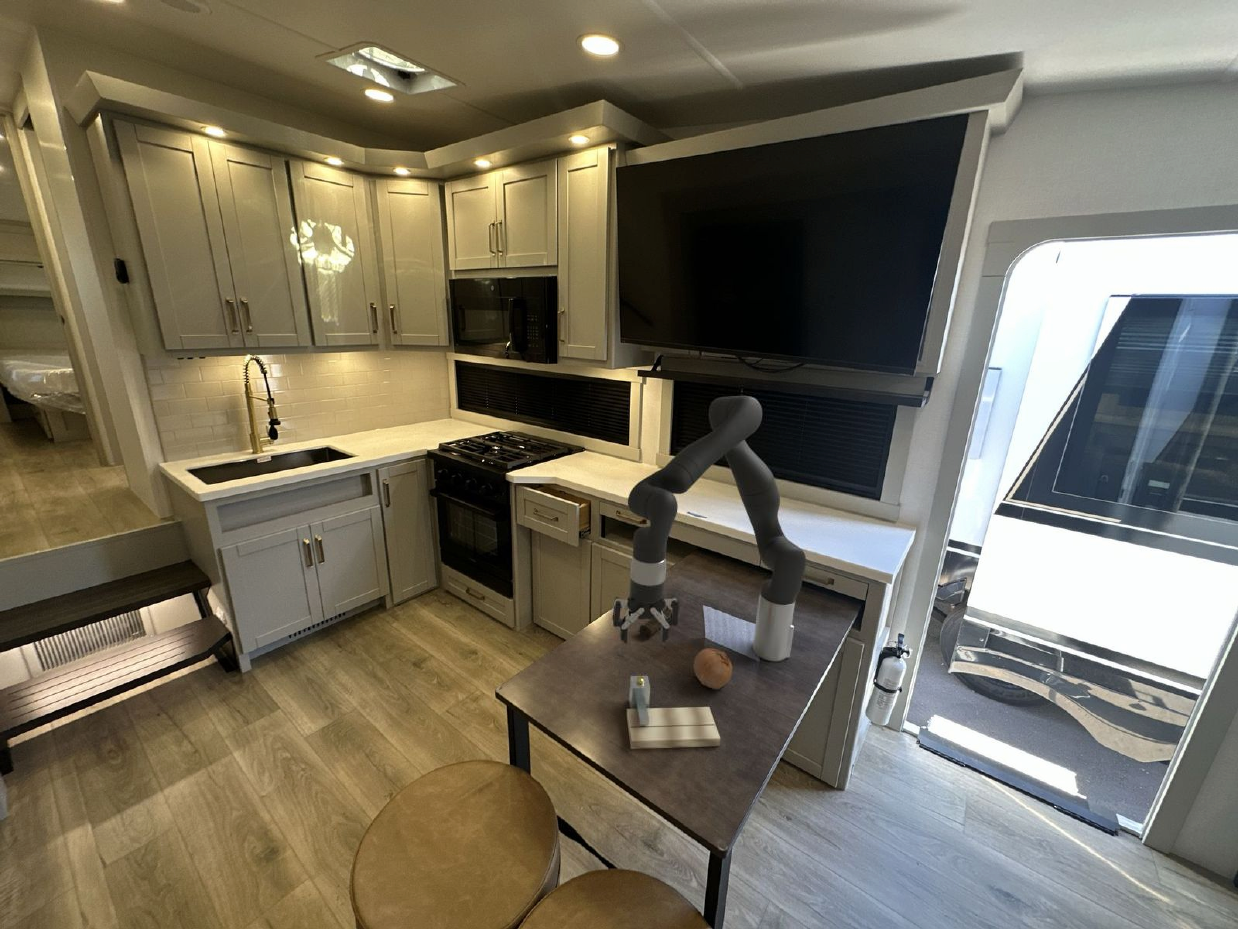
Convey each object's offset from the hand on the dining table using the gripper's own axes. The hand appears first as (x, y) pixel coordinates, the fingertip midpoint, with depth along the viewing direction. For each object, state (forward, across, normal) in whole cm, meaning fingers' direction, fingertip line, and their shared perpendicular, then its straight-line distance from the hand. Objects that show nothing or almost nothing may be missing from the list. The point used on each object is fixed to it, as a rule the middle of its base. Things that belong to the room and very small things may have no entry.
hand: (643, 640), depth 109 cm
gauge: (+18, 0, +3) cm, 18 cm away
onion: (+18, -19, -8) cm, 28 cm away
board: (+18, -6, +7) cm, 20 cm away
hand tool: (+18, -11, -34) cm, 40 cm away
